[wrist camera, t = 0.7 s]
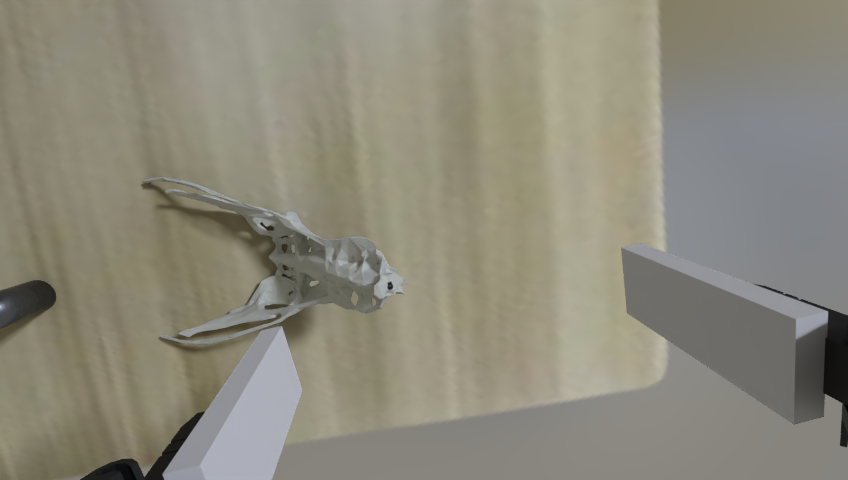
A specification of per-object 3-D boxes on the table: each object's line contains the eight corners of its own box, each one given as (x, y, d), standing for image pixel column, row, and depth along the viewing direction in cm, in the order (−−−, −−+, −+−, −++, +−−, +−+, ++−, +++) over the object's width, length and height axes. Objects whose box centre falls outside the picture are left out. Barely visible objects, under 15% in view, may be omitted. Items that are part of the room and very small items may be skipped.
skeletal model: (138, 177, 37) (308, 169, 23) (234, 177, 45) (409, 170, 30) (158, 339, 40) (324, 427, 25) (246, 313, 47) (414, 369, 32)
